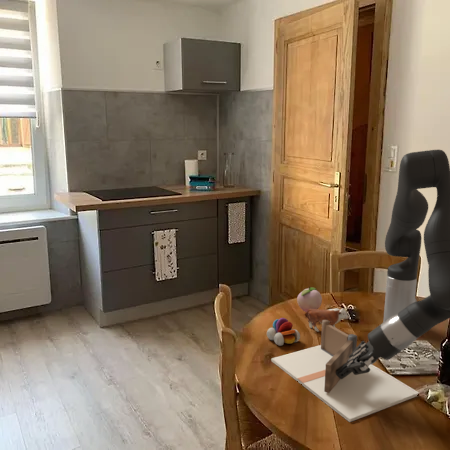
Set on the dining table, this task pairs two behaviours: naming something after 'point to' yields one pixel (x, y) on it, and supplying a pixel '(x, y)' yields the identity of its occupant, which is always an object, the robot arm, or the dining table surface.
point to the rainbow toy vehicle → (283, 332)
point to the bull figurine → (325, 316)
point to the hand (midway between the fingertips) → (338, 375)
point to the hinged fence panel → (336, 365)
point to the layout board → (348, 386)
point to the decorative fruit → (309, 299)
